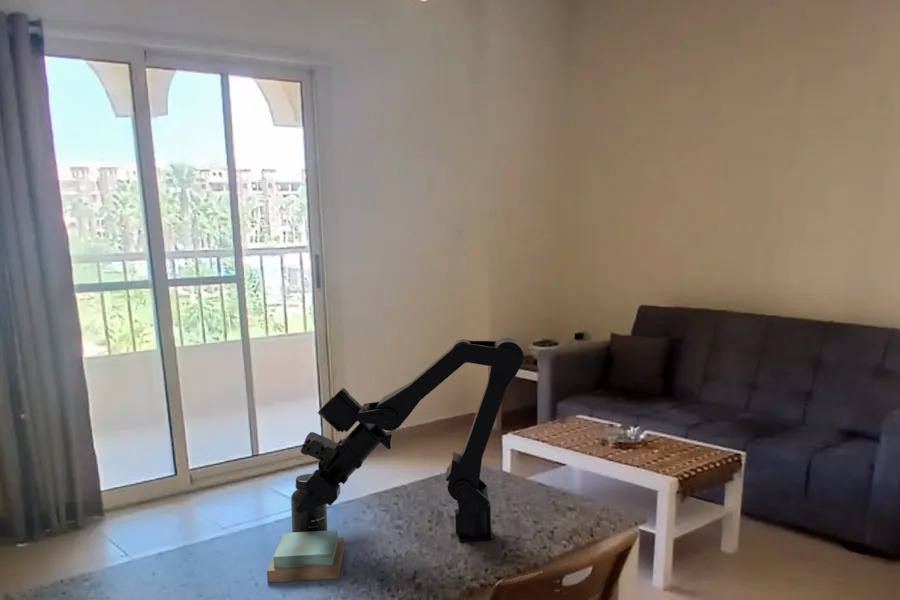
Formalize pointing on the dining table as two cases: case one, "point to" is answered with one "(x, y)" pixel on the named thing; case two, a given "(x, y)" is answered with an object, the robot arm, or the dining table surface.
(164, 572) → the dining table surface
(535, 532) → the dining table surface
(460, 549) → the dining table surface
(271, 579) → the tower base
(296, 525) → the supplement bottle
